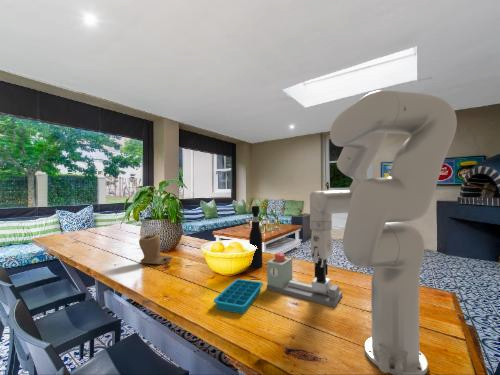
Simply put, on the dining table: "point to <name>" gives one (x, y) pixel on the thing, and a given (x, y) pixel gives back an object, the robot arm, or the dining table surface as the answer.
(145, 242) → the brown boot
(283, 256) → the button
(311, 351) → the dining table surface
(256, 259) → the wine bottle
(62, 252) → the dining table surface
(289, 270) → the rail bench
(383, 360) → the robot arm
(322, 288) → the carriage
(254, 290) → the ice cube tray
